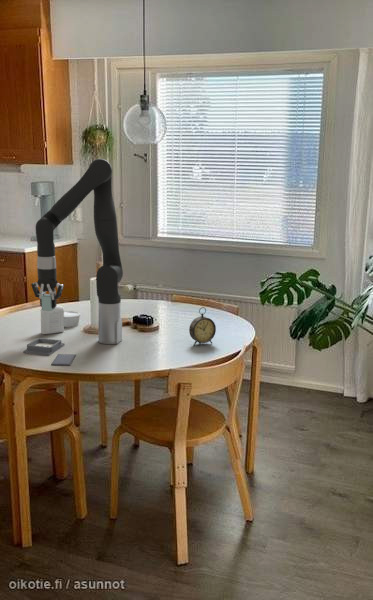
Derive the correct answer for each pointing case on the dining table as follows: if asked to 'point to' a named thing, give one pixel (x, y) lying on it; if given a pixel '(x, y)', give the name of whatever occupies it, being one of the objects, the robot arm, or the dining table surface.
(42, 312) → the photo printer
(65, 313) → the ramekin
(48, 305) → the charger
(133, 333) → the dining table surface
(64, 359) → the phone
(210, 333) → the alarm clock
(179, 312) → the dining table surface
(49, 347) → the grey shallow rectangular tray
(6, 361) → the dining table surface
